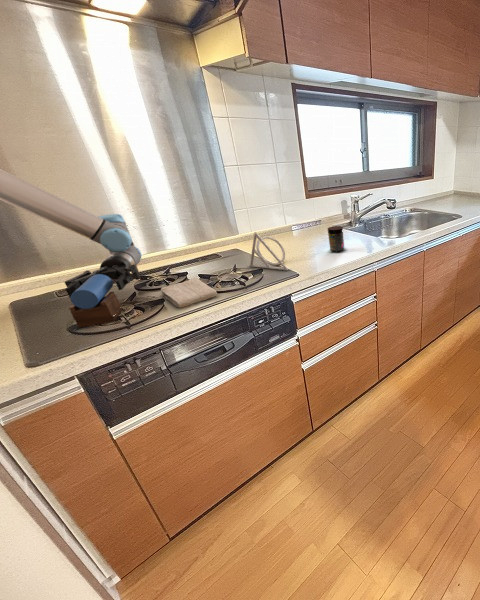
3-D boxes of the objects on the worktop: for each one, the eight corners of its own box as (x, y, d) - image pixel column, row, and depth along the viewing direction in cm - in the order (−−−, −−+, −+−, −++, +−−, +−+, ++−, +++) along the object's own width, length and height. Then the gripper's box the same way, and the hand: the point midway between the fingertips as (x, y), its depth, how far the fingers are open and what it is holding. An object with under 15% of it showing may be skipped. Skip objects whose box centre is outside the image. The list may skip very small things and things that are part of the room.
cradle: (89, 315, 96) (80, 296, 93) (122, 309, 99) (114, 291, 96) (78, 327, 89) (68, 307, 87) (114, 321, 92) (105, 301, 90)
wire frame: (283, 267, 144) (304, 254, 135) (265, 283, 134) (287, 270, 126) (253, 234, 137) (275, 218, 128) (233, 248, 127) (254, 232, 119)
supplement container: (342, 253, 144) (340, 230, 140) (328, 252, 145) (325, 229, 141) (346, 248, 150) (344, 226, 146) (332, 248, 151) (330, 226, 147)
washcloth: (197, 283, 116) (195, 275, 115) (220, 296, 106) (217, 288, 104) (159, 294, 108) (156, 286, 107) (180, 310, 98) (176, 301, 96)
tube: (93, 292, 98) (85, 275, 96) (116, 289, 100) (108, 272, 98) (76, 310, 88) (66, 292, 85) (101, 306, 90) (92, 288, 87)
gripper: (161, 270, 117) (147, 293, 99) (80, 282, 109) (48, 309, 91) (153, 250, 114) (137, 270, 96) (69, 261, 106) (35, 284, 88)
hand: (94, 289), depth 94 cm, fingers open, 11 cm apart
